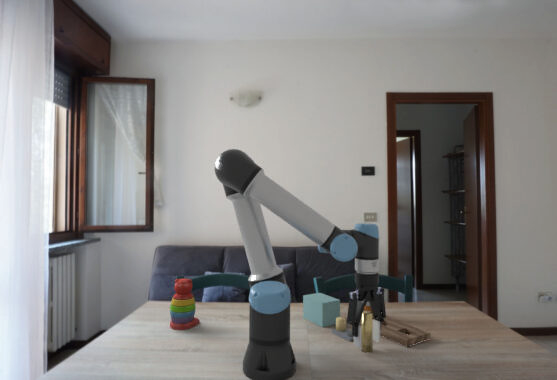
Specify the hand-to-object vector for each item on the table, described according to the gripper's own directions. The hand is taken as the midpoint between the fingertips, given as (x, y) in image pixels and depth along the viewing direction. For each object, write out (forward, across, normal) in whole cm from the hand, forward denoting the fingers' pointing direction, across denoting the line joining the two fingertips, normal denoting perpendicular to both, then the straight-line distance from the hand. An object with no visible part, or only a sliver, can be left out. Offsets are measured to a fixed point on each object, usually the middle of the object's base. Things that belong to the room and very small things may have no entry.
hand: (366, 343), depth 114 cm
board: (+2, +19, +5) cm, 20 cm away
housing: (+2, +5, +30) cm, 30 cm away
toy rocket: (+2, +23, +23) cm, 33 cm away
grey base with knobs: (+2, +3, +13) cm, 14 cm away
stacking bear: (+2, -44, +52) cm, 68 cm away
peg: (+2, 0, 0) cm, 2 cm away
